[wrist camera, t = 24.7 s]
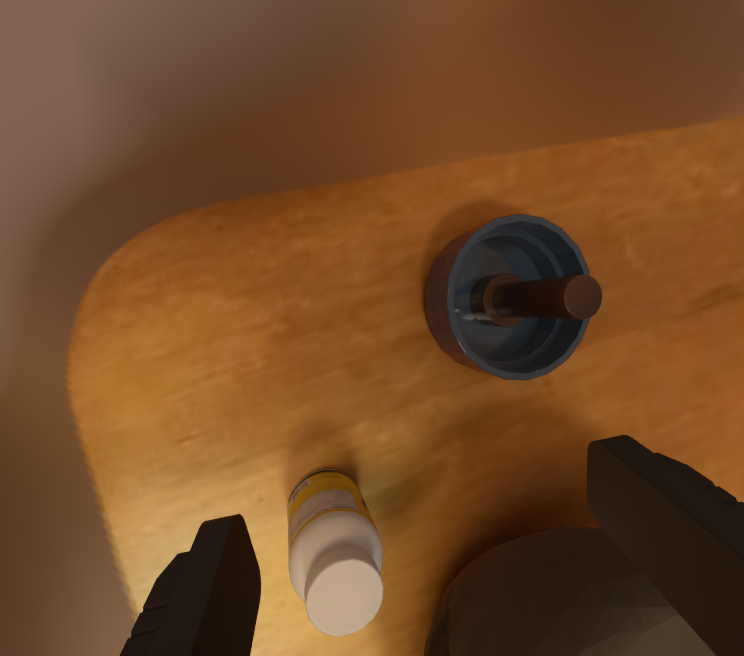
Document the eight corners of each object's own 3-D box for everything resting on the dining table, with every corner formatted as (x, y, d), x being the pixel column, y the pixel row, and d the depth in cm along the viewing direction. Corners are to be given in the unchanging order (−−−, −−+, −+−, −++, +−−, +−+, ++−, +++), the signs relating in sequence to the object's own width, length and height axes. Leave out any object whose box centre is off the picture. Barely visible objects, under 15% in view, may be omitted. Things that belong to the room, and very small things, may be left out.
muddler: (460, 292, 35) (540, 284, 24) (500, 266, 35) (595, 247, 25) (484, 335, 35) (572, 346, 25) (522, 309, 36) (624, 308, 26)
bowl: (395, 274, 34) (417, 267, 29) (510, 203, 36) (549, 185, 31) (465, 396, 36) (497, 411, 31) (569, 322, 38) (615, 324, 33)
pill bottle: (340, 546, 34) (370, 664, 23) (274, 524, 32) (270, 639, 21) (371, 479, 34) (415, 563, 23) (306, 454, 33) (320, 531, 21)
